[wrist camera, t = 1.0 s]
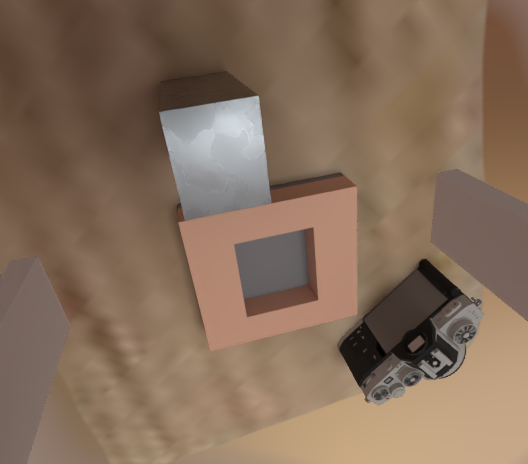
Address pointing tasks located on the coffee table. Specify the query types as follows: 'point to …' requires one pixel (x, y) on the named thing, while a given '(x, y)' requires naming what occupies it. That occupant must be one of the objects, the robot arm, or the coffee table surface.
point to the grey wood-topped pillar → (214, 144)
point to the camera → (411, 335)
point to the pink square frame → (276, 261)
